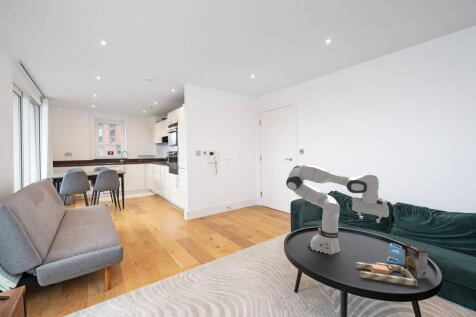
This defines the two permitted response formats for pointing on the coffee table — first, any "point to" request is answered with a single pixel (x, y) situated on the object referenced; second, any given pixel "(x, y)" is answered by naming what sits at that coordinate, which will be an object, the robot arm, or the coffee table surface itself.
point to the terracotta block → (379, 269)
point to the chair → (396, 253)
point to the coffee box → (416, 261)
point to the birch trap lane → (407, 281)
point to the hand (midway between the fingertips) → (369, 220)
